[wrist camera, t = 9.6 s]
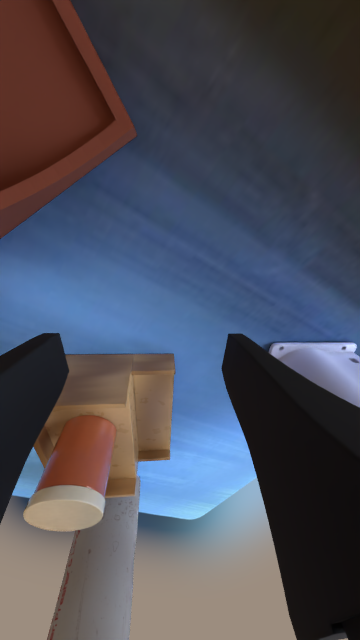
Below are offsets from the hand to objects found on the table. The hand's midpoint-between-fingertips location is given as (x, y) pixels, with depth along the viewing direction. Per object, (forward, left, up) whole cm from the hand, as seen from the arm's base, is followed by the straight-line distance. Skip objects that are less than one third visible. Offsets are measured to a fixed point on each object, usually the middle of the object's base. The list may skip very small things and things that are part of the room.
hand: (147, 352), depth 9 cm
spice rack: (+4, +15, -9) cm, 18 cm away
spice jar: (+6, +13, -5) cm, 15 cm away
